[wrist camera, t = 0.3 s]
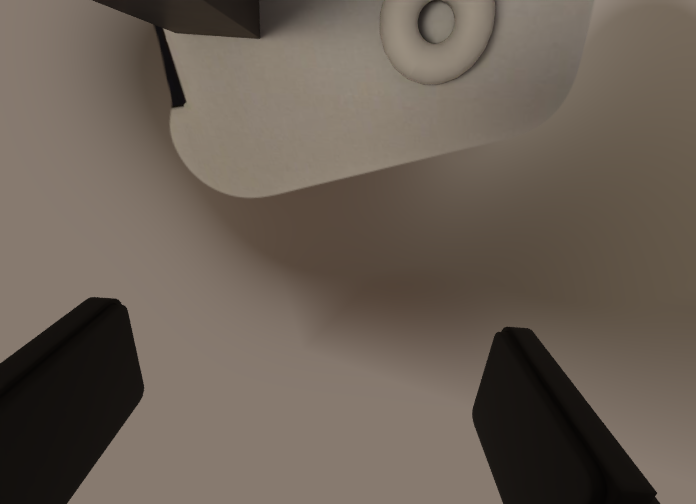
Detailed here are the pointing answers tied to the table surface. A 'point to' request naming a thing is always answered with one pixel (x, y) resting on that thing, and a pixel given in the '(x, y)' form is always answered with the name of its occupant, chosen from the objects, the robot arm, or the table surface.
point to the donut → (435, 59)
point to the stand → (196, 15)
